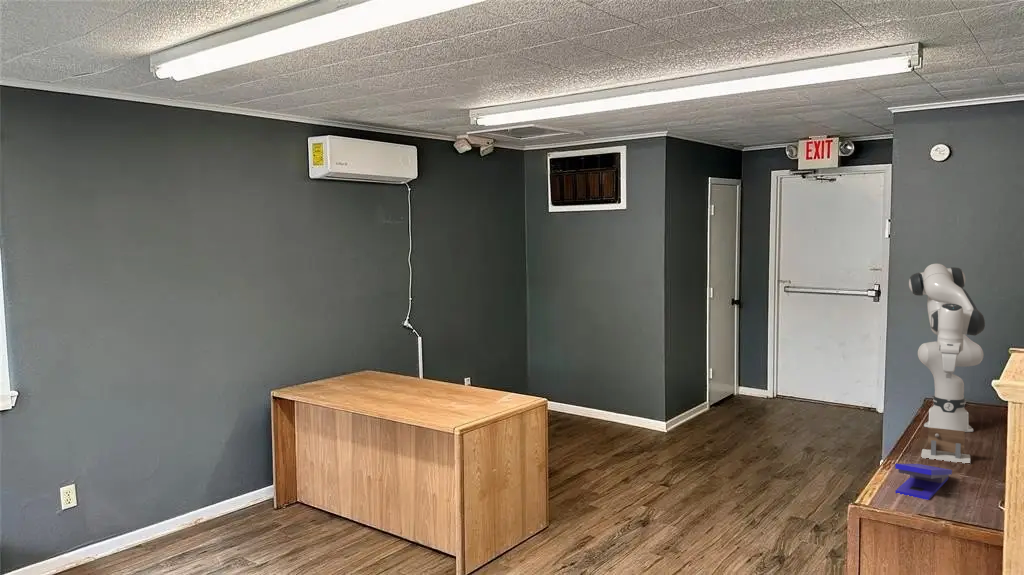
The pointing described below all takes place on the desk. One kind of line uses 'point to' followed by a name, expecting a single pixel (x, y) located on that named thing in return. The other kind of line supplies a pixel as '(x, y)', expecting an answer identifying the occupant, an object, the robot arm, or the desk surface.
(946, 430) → the door panel
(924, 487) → the blue stacked plate part
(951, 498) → the desk surface
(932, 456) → the white and grey rack
